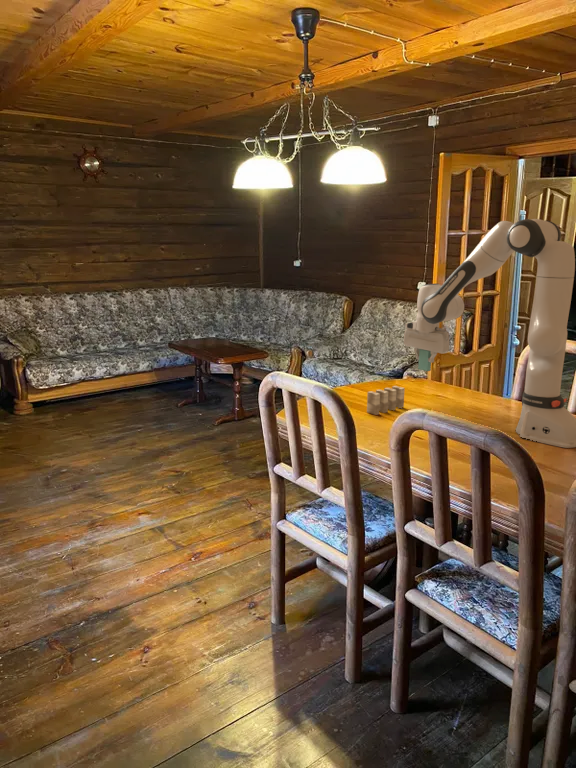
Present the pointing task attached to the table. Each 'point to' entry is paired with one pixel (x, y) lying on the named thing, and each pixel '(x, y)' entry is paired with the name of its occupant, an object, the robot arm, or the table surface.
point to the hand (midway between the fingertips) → (424, 360)
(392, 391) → the domino
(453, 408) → the table surface
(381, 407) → the domino
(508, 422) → the table surface
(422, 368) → the domino
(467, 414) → the table surface
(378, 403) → the domino
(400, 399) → the domino
